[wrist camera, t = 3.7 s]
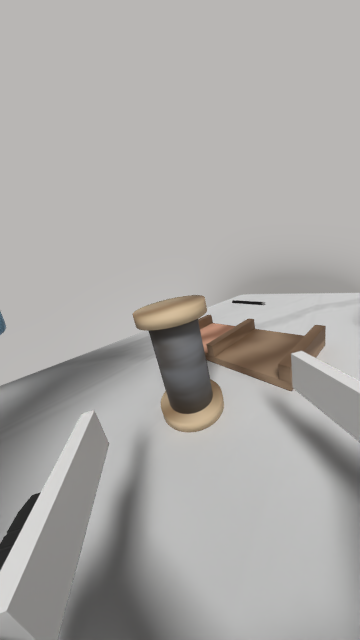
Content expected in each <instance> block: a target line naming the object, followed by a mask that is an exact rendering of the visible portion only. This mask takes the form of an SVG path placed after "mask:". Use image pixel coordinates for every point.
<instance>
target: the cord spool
mask: <svg viewBox="0 0 360 640" xmlns="http://www.w3.org/2000/svg"><path fill="white" fill-rule="evenodd" d="M206 312H207V308H206V303H205V297H204V296H200V295H192V296H183V297H177V298H172V299H167V300H163V301H159V302H156V303H153V304H150V305H147V306H145V307H142V308H140V309H138V310H136V311H135V312H134V313H133V318H134V321H135V324H136V327H137V328H138V329H140V330H149V334H150V337H151V340H152V344H153V347H154V351H155V354H156V358H157V361H158V365H159V368H160V372H161V375H162V379H163V382H164V386H165V389H166V391H165V393H164V394H163V396H162V399H161V409H162V412H163V415H164V418H165V420H166V422H167V423H168V425H170V426H171V427H172V428H174V429H176V430H178V431H182V432H196V431H200V430H203V429H206V428H208V427H209V426H211V425H212V424H214V423H215V422H216V421H217V420H218V419H219V417H220V416H221V414H222V412H223V408H224V401H223V396H222V391H221V389H220V387H219V385H218V384H217V383H216V382H214V381H212V380H211V379H210V377H209V372H208V367H207V362H206V357H205V352H204V347H203V342H202V337H201V332H200V327H199V322H198V318H200V317H201V316H203V315H204V314H205V313H206Z"/></svg>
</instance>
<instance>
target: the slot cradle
mask: <svg viewBox="0 0 360 640" xmlns="http://www.w3.org/2000/svg"><path fill="white" fill-rule="evenodd" d="M198 322H199V327H200V332H201V337H202V342H203V347H204V352H205V357H206V360H208V361H211V362H214V363H216V364H219V365H222V366H225V367H227V368H230V369H233V370H235V371H238V372H241V373H243V374H246V375H249V376H252V377H254V378H257V379H260V380H262V381H265V382H268V383H270V384H273V385H276V386H279V387H281V388H284V389H287V390H289V391H292V390H293V389H294V388H293V385H292V363H291V354H292V353H295V352H299V351H303V352H305V353H307V354H309V355H311V356H313V357H315V358H316V357H317V355H318V354H319V353H320V351H321V350H322V349H323V347H324V346H325V326H321V325H315V326H314V327H313V328H312V329H311V330H310V331H309V332H308V333H307V334H306V335H305V336H302V335H295V334H287V333H280V332H273V331H266V330H259V329H255V325H254V319H247V320H245V321H244V322H242V323H240V324H239V325H237V326H230V325H222V324H215V323H213V322H212V316H211V315H207V316H204V317H202V318H200V319H198Z"/></svg>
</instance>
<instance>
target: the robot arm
mask: <svg viewBox="0 0 360 640" xmlns="http://www.w3.org/2000/svg"><path fill="white" fill-rule="evenodd" d="M5 329H6V325H5V322H4V319H3V317H2V314H1V312H0V335H1V334H2V333H3V332H4V331H5ZM291 363H292V385H293V388H294V389H295V390H296V391H297V392H298V393H300V394H301V395H302V396H303V397H305V398H306V399H307V400H308V401H310V402H311V403H312V404H313V405H314V406H316V407H317V408H318V409H319V410H321V411H322V412H323V413H324V414H325V415H327V416H328V417H329V418H330V419H332V420H333V421H334V422H335V423H337V424H338V425H339V426H340V427H341V428H343V429H344V430H345V431H346V432H348V433H349V434H350V435H351V436H353V437H354V438H355V439H356V440H357V441H359V442H360V381H359V380H357V379H355V378H354V377H352V376H350V375H348V374H346V373H344V372H342V371H340V370H338V369H336V368H334V367H332V366H330V365H328V364H326V363H324V362H322V361H320V360H319V359H317V358H315V357H313V356H311V355H309V354H307V353H305V352H303V351H299V352H295V353H292V354H291ZM108 446H109V442H108V440H107V437H106V435H105V433H104V431H103V428H102V426H101V424H100V422H99V419H98V417H97V415H96V413H95V410H93V411H89V412H86V413H82V414H81V416H80V418H79V420H78V422H77V424H76V426H75V428H74V429H73V431H72V433H71V435H70V437H69V439H68V441H67V443H66V445H65V447H64V449H63V451H62V453H61V455H60V457H59V458H58V460H57V462H56V464H55V466H54V468H53V470H52V472H51V474H50V476H49V478H48V480H47V482H46V484H45V485H44V487H43V489H42V491H41V493H38V494H35V495H32V496H31V497H30V499H29V500H28V501H27V502H26V503H25V505H24V506H23V507H22V508H21V510H20V511H19V512H18V514H17V516H16V517H15V519H14V521H13V523H12V524H11V526H10V528H9V530H8V531H7V535H6V536H5V537H4V538H3V540H2V542H1V544H0V640H58V636H59V632H60V628H61V625H62V621H63V617H64V613H65V609H66V606H67V602H68V598H69V594H70V590H71V587H72V583H73V579H74V575H75V571H76V568H77V564H78V560H79V556H80V552H81V549H82V545H83V541H84V537H85V534H86V530H87V526H88V522H89V518H90V515H91V511H92V507H93V503H94V499H95V496H96V492H97V488H98V484H99V480H100V477H101V473H102V469H103V465H104V461H105V458H106V454H107V450H108Z"/></svg>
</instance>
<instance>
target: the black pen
mask: <svg viewBox="0 0 360 640" xmlns="http://www.w3.org/2000/svg"><path fill="white" fill-rule="evenodd" d="M232 303H243V304H258V305H265V304H264V302H250V301H232Z"/></svg>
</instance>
